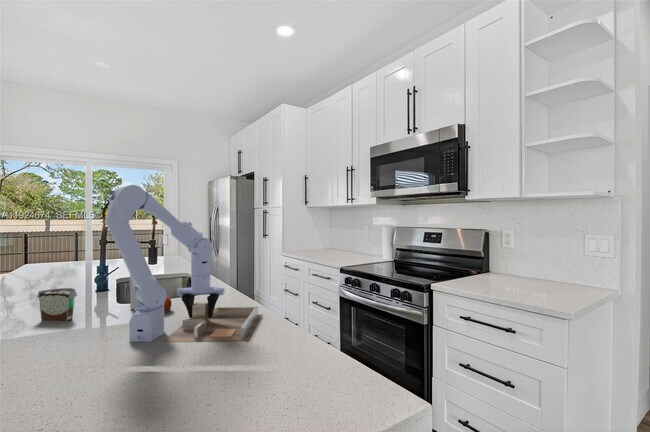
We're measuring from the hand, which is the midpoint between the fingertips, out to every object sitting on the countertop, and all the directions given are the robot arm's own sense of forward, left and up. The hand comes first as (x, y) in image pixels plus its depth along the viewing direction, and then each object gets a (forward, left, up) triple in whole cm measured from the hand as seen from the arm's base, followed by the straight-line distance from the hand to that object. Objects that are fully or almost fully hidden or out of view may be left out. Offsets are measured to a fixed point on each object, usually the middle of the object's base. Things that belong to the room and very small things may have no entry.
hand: (201, 317), depth 106 cm
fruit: (+12, +19, -3) cm, 23 cm away
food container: (+8, +50, -3) cm, 51 cm away
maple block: (0, 0, -2) cm, 2 cm away
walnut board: (-4, -7, -3) cm, 8 cm away
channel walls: (-3, -7, -2) cm, 8 cm away
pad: (-10, -10, -2) cm, 14 cm away
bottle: (+20, +31, -3) cm, 37 cm away
